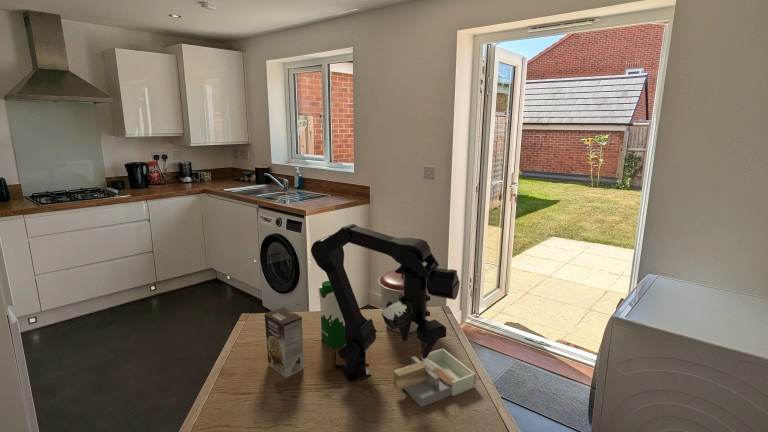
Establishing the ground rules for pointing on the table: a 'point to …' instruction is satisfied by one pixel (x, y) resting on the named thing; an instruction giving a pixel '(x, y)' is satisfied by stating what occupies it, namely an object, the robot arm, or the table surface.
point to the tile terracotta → (444, 376)
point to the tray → (454, 371)
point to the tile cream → (432, 365)
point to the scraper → (415, 375)
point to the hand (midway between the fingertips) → (414, 349)
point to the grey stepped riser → (428, 392)
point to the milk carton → (331, 317)
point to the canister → (393, 292)
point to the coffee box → (284, 341)
